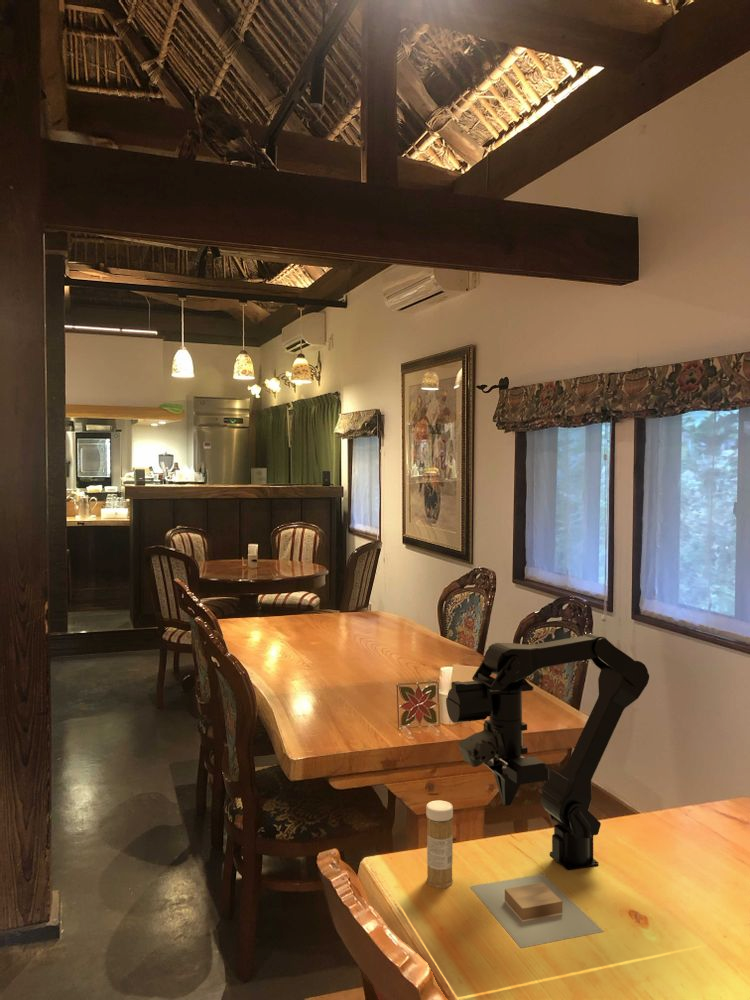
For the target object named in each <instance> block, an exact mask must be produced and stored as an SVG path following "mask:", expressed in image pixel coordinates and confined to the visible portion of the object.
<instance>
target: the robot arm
mask: <svg viewBox="0 0 750 1000" xmlns="http://www.w3.org/2000/svg"><path fill="white" fill-rule="evenodd" d="M589 660H590V661H591V662H592V664H593V665H594V666H595V667H597V669H599V671H600V672H599V675H598V681H597V682H598V684H597V685H598V696H597V700H596V701H595V703H594V704H593V705H594V706H593V707H592V710H591V712H590V714H589V716H588V718H587V720H586V723H585V724H584V727H583V729H582V731H581V733H580V735H579V737H578V740H577V742H576V744H575V746H574V748H573V750H572V752H571V754H570V757H569V759H568V760H567V763H566V765H565V766H564V767H563V768H561V769H560V770H559V771H558V772H557V771H556V770H553V769H550V767H549V766H548V765H547V763H546V762H544V761H542V760H541V759H539V758H537V757H536V756H527V757H525V756H523V755H528V747H527V746H525V745H523V744H524V743H523V741H524V740H523V732H524V731H528V723H526V722H524V721H523V692H530V691H533V690H534V686H533V685H532V684H530V683H529V682H528V681H527V679H526V678H528V677H530V676H532V675H533V674H534V673H536V672H537V671H540V670H541V669H543V668H549V667H556V666H561V665H567V664H572V663H576V662H577V663H578V662H583V661H589ZM492 675H494V676H495V677H493V676H492ZM471 679H472V680H470V681H469V680H468V681H459V680H458V681H452V682H451V688H450V689H449V690H448V693H447V697H446V699H445V705H446V711H447V714H448V717H449V720H450V721H451V722H452V723H453V724H456V723H466V722H475V721H484V722H483V730H481V731H479V732H475V733H473V734H471V735H469V736H468V737H466V738H463V739H462V740H461V741H459V742H458V747H459V750H460V754H461V755H462V758H463V761H464V762H466V763H468V764H469V765H470V766H471V767H473V768H476V767H479V766H481V765H482V764H483V765H484V766H486V768H488V769H489V770H490V771H491V772H492V773H493V776H494V779H495V782H496V785H497V789H498V792H499V795H500V798H501V801H502V805H503V806H505V807H509V806H511V805H512V803H513V802H514V799H515V797H516V796H517V793H518V791H519V789H520V787H521V785H527V784H532V783H538V782H540V783H541V782H544V781H545V782H544V784H543V785H541V787H540V790H542V793H541V795H540V801H541V804H542V807H543V809H544V811H546V812H547V813H548V815H549V818H550V819H551V821H554V822H555V823H557V824H554V826H553V831H554V832H553V834H552V835H551V851H549V856H550V857H551V858H552V859H554V860H555V861H556V862H557V863H558V864H559V865H560V866H562V867H563V868H564V869H565V870H567V871H574V870H580V869H582V870H583V869H586V868H587V869H588V868H593V867H598V866H599V861H597V860H596V859H595V858H594V836H598V835H599V832H600V828H601V822H600V821H599V819H597V817H595V816H594V814H592V813H591V812H590V811H589V809H590V806H591V803H592V800H593V795H592V780H593V778H594V775H595V773H596V771H597V768H598V767H599V764H600V762H601V760H602V758H603V756H604V753H605V751H606V749H607V747H608V745H609V743H610V740H611V738H612V736H613V734H614V731H615V730H616V728H617V726H618V723H619V722H620V719H621V717H622V715H623V712H624V710H625V709H626V708H627V707H629V706H630V705H632V704H633V703H634V702H636V701H637V700H638V699H639V698H640V697H641V695H642V694H643V692H644V690H645V688H646V687H647V686H648V683H649V682H650V673H649V671H648V668H647V666H646V664H645V663H643V662H642V661H640V660H636V659H633V658H632V657H631V656H629V655H628V654H626V653H625V652H624V651H622V650H620V649H619V648H618V647H616V645H614V644H613V643H612V642H610V641H609V640H608V639H607V638H606V637H605V636H602V635H598V634H594V633H586V634H584V635H579V636H574V637H568V638H562V639H557V640H553V641H552V640H551V641H545V642H541V643H540V642H539V643H534V644H525V643H515V642H495V643H492V644H490V645H489V646H488V648H487V650H486V651H485V654H484V657H483V660H482V662H481V663H480V665H479V667H478V668H477V670H476V671H475V672H474V674H473V676H472V677H471ZM487 717H489V719H487Z"/></svg>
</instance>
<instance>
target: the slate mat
mask: <svg viewBox="0 0 750 1000" xmlns="http://www.w3.org/2000/svg"><path fill="white" fill-rule="evenodd" d="M538 883H544V884H545V885H546V886H547V887H548V888H549V889H550V890H551V891H552V892H553V893H554V894H555V895H556V896H557V897H558V898H559V899H560V900H561V901H562V914H560V915H555V916H550V917H544V918H539V919H534V920H528V921H522V920H521V919H520V918H519V917H518V916H517V915H516V914H515V912H514V911H513V910H512V909H511V908H510V907H509V906H508V905H507V903H506V902H505V889H508V888H514V887H520V886H526V885H532V884H538ZM469 888H470V889H471V891H473V892H474V894H475V895H476V896H477V898H478V899H479V900H480V901H481V902H482V903H483V905H484V906H485V907H486V908H487V909H488V910H489V912H490V913H491V914H492V915H493V917H494V918H495V919H496V920H497V922H498V923H499V924H500V925H501V926H502V927H503V929H504V930H505V931H506V932H507V933H508V935H509V936H510V937H511V938H512V939H513V941H515V943H516V944H517V946H518V947H519V948H520V949H524V948H528V947H529V948H530V947H534V946H538V945H539V946H540V945H543V944H548V943H553V942H558V941H563V940H569V939H574V938H578V937H584V936H589V935H594V934H599V933H604V932H605V931H604V930H603V929H602V928H601V927H600V926H599V925H598V924H597V923H596V922H594V921H593V920H592V918H590V916H588V915H587V914H586V913H585V911H583V910H582V909H581V908H580V907H579V906H578V905H577V904H576V903H575V902H574V901H572V900H571V899H570V898H569V897H568V896H567V895H566V894H565V893H564V892H563V890H561V889H560V888H559V887H558V886H556V885H555V884H554V883H553V881H551V880H550V879H549V878H548V877H547V876H546V875H545V874H544V873H539V874H535V875H530V876H529V875H528V876H523V877H518V878H511V879H504V880H500V881H499V880H498V881H493V882H487V883H480V884H475V885H469Z"/></svg>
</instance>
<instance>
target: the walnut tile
mask: <svg viewBox="0 0 750 1000" xmlns="http://www.w3.org/2000/svg"><path fill="white" fill-rule="evenodd" d="M505 902H506V903H507V905H508V906H509V907H510V908H511V909H512V910H513V911H514V912H515V914H516V915H517V916H518V917H519V918H520V919H521V920H522V921H528V920H534V919H539V918H544V917H550V916H555V915H560V914H562V901H561V900H560V899H559V898H558V897H557V896H556V895H555V894H554V893H553V892H552V891H551V890H550V889H549V888H548V887H547V886H546V885H545V884H544V883H538V884H532V885H526V886H520V887H514V888H508V889H505Z"/></svg>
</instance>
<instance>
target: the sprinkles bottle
mask: <svg viewBox="0 0 750 1000" xmlns="http://www.w3.org/2000/svg"><path fill="white" fill-rule="evenodd" d="M425 810H426V811H425V812H426V814H425V816H426V819H427V823H426V828H427V829H426V830H427V831H426V836H427V837H426V865H427V868H426V869H427V870H426V874H427V878H426V883H427V884H428V885H429V886H430V887H432V888H436V889H446V888H449V887H451V886H452V885H453V883H454V880H453V863H454V862H453V856H454V855H453V846H454V845H453V817H454V807H453V804H452V803H450V802H449V801H446V800H440V799H439V800H432V801H429V802H428V803H427V804H426V808H425Z"/></svg>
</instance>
